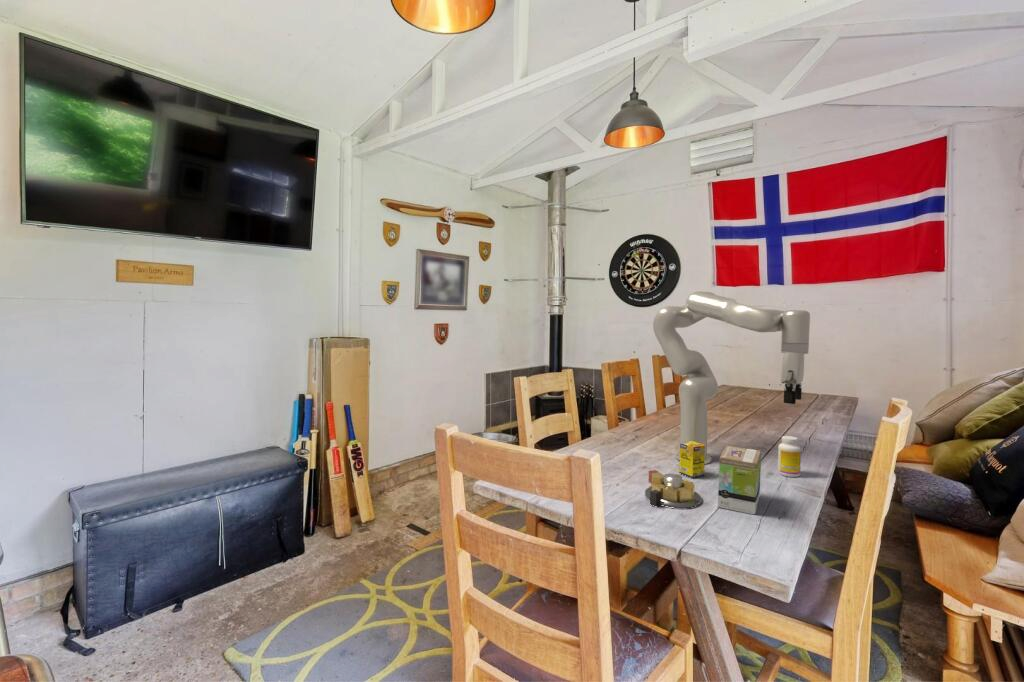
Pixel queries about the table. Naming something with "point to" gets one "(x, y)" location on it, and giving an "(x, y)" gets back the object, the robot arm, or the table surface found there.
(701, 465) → the supplement box
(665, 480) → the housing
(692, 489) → the tan block cluster
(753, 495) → the tea box
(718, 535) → the table surface
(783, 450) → the supplement bottle
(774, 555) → the table surface
